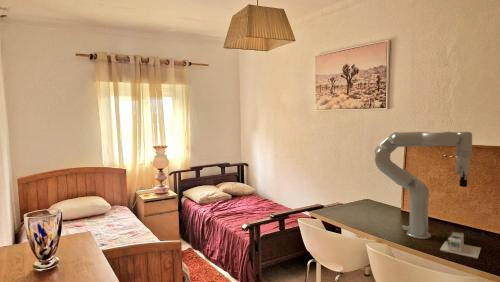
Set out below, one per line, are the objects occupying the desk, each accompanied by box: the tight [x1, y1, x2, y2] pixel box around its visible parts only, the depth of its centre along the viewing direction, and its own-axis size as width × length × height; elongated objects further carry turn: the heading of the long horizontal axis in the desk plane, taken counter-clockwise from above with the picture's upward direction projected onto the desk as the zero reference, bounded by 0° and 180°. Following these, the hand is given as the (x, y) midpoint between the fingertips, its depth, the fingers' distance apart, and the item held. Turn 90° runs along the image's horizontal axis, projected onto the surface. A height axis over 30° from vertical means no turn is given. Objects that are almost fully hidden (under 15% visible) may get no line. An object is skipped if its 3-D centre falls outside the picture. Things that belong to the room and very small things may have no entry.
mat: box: [439, 240, 482, 259], centre depth 165 cm, size 16×15×1 cm
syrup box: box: [447, 231, 465, 252], centre depth 167 cm, size 6×6×14 cm
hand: (463, 186), depth 178 cm, fingers closed
